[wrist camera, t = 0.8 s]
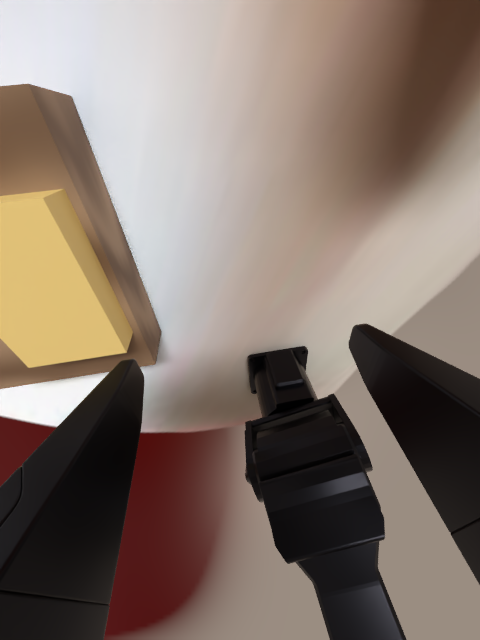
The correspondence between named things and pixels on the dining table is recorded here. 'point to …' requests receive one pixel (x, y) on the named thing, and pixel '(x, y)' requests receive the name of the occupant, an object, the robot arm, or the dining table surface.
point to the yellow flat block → (54, 285)
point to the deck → (91, 208)
